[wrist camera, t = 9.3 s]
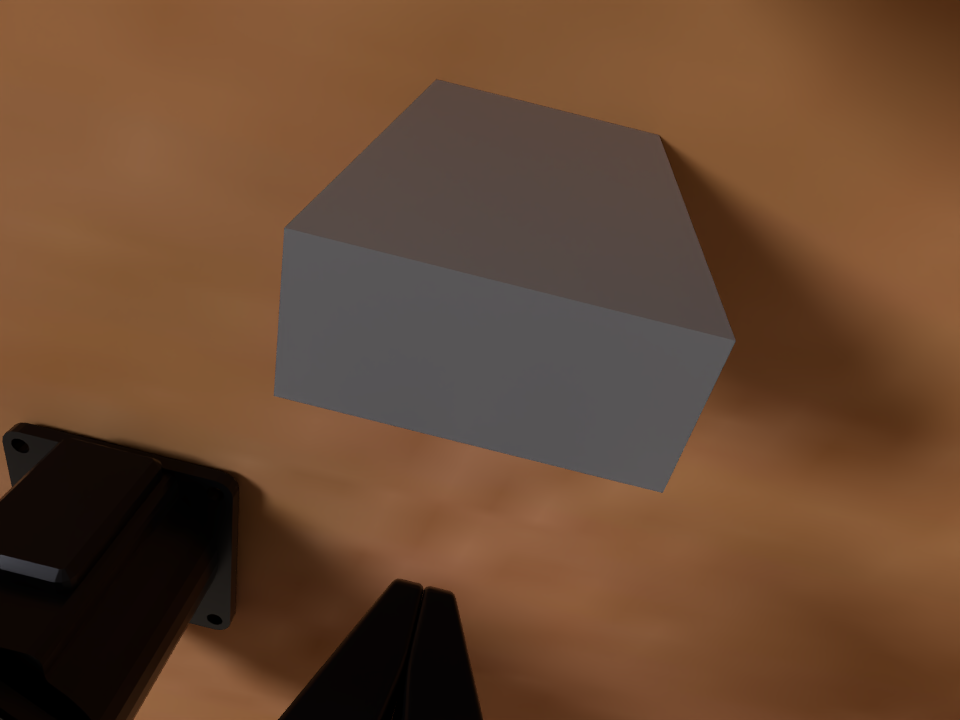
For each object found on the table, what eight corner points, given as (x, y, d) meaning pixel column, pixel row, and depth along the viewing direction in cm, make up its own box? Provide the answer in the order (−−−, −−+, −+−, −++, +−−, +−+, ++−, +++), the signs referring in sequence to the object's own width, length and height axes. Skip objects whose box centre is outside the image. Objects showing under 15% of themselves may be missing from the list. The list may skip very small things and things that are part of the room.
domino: (625, 231, 14) (662, 492, 8) (419, 179, 14) (274, 395, 8) (659, 135, 13) (735, 340, 7) (436, 79, 13) (284, 227, 7)
